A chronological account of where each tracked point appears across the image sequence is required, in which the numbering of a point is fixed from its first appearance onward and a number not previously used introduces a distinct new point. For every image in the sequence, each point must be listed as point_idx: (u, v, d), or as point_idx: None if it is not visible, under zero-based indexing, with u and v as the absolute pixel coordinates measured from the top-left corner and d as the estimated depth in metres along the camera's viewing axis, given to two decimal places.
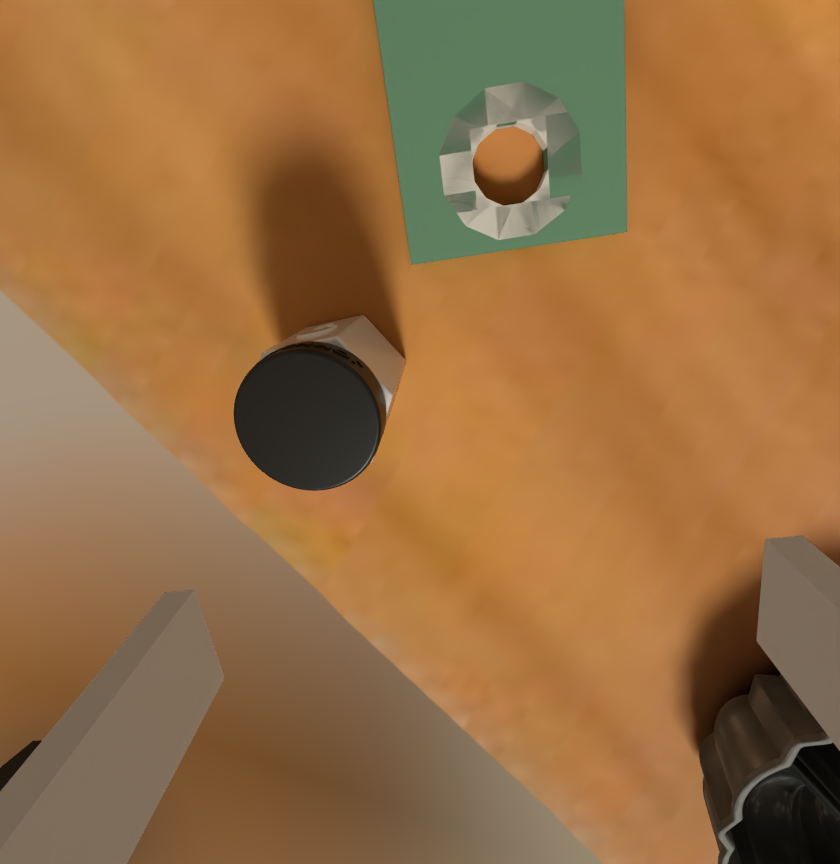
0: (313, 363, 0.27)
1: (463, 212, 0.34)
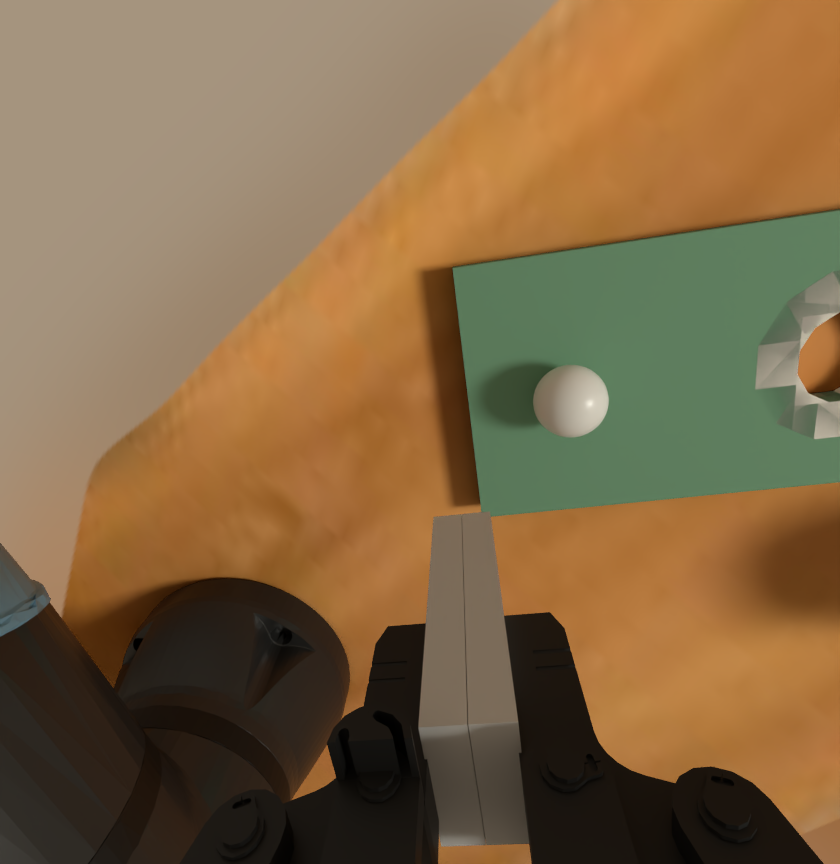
0: None
1: None
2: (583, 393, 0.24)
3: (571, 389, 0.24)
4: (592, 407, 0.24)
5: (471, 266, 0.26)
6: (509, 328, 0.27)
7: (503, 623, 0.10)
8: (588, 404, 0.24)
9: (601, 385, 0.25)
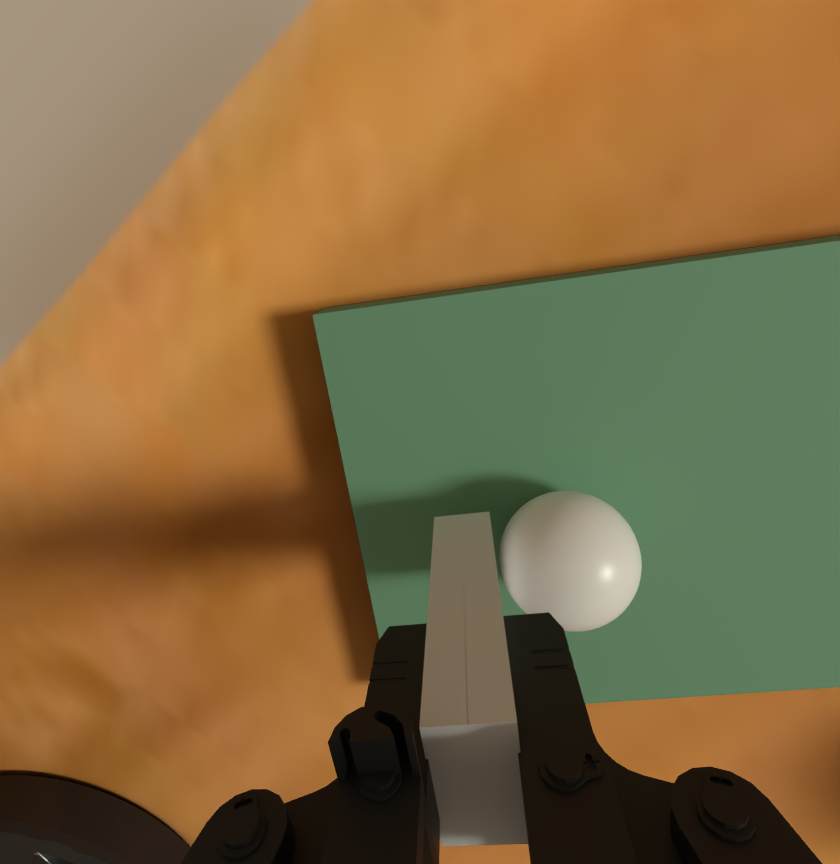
0: None
1: None
2: (621, 555, 0.12)
3: (600, 552, 0.12)
4: (635, 576, 0.13)
5: (347, 311, 0.14)
6: (423, 422, 0.15)
7: (502, 623, 0.10)
8: (631, 573, 0.12)
9: None
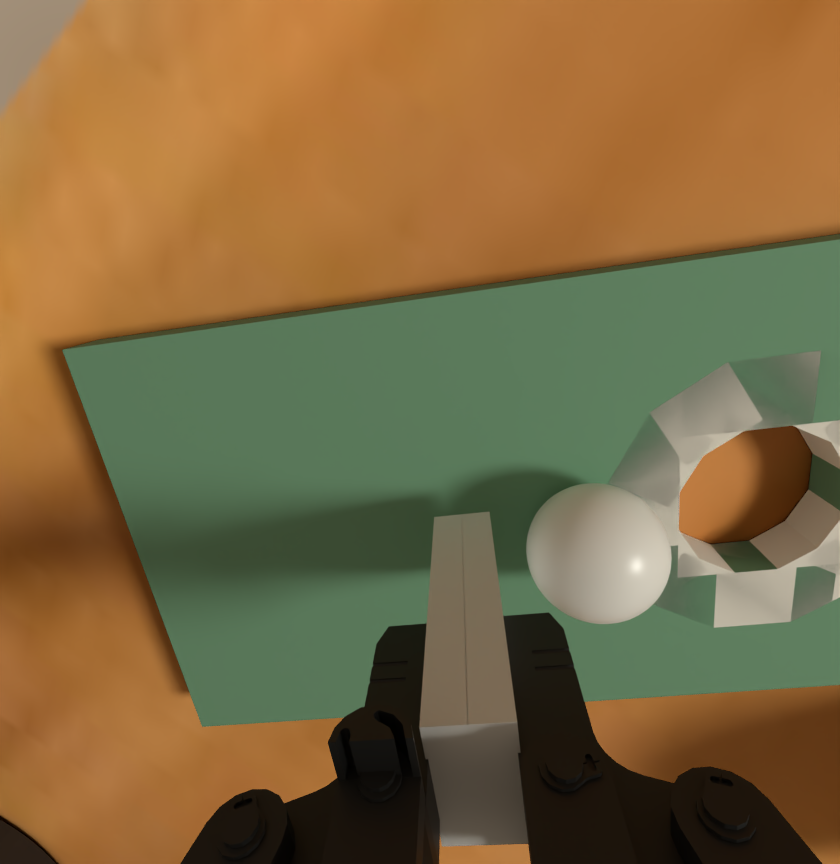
0: None
1: (834, 588, 0.16)
2: (539, 543, 0.13)
3: (537, 524, 0.14)
4: (543, 575, 0.13)
5: (93, 347, 0.14)
6: (182, 449, 0.15)
7: (502, 623, 0.10)
8: (539, 565, 0.13)
9: (581, 558, 0.12)
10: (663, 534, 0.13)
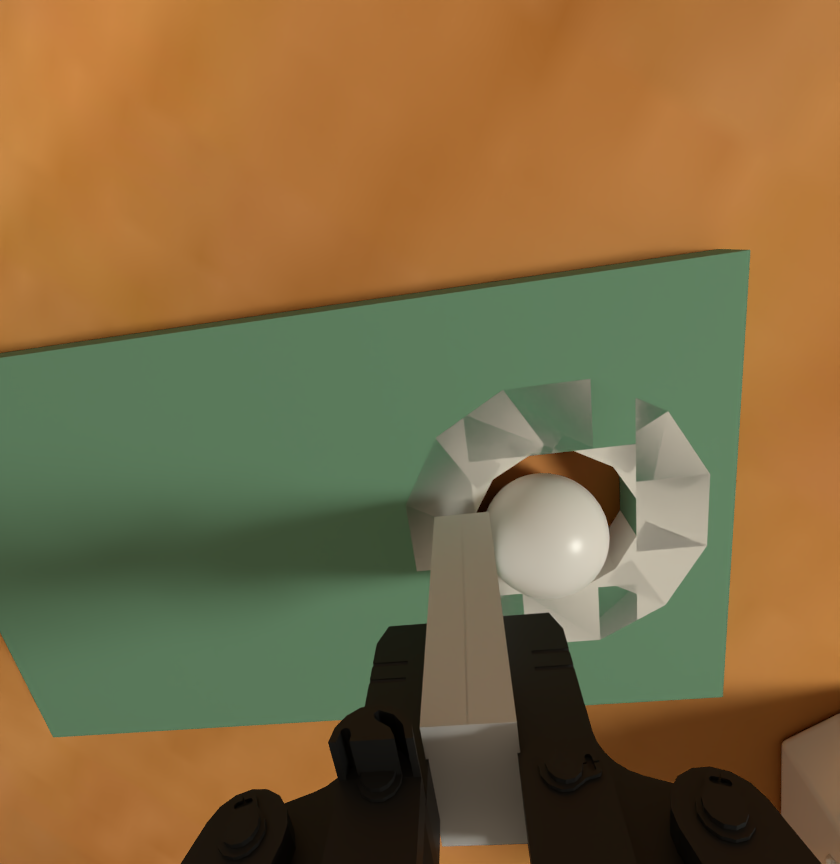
0: None
1: (637, 608, 0.16)
2: None
3: (594, 503, 0.14)
4: None
5: None
6: None
7: (502, 623, 0.10)
8: None
9: None
10: None
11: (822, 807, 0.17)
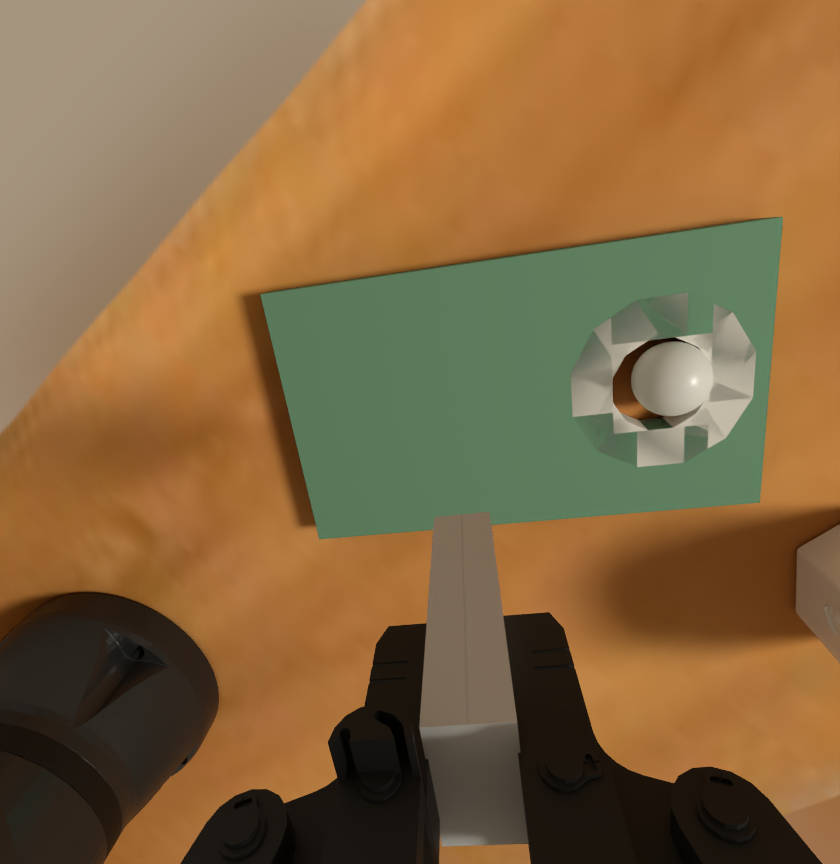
0: None
1: (708, 440, 0.26)
2: None
3: None
4: None
5: (278, 292, 0.26)
6: (322, 354, 0.27)
7: (502, 623, 0.10)
8: None
9: None
10: (633, 367, 0.26)
11: (822, 574, 0.28)
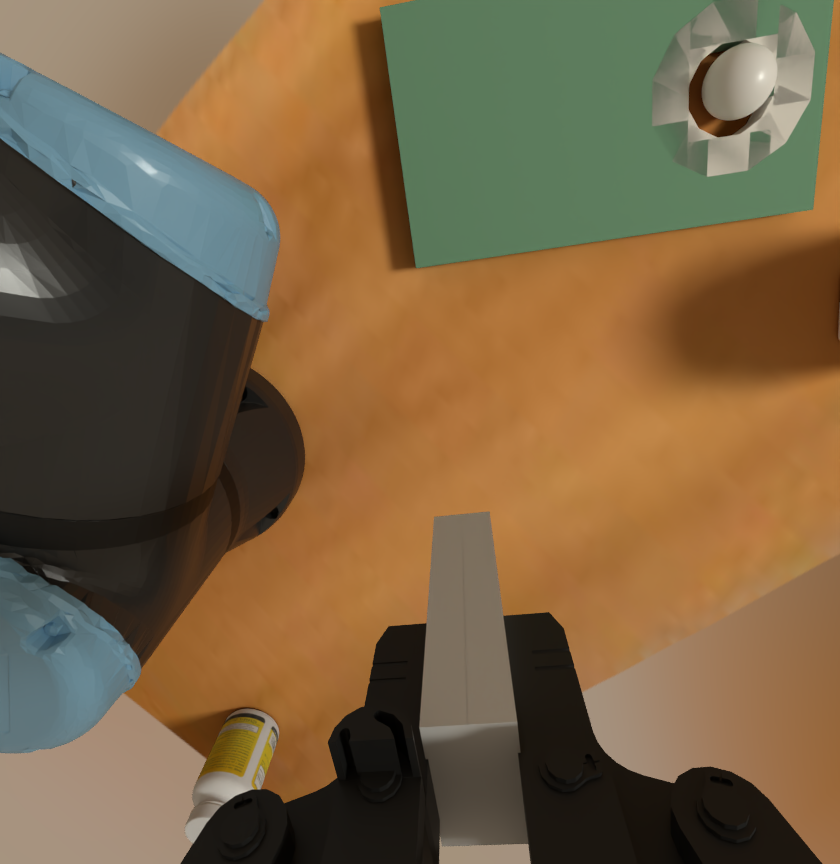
0: None
1: (770, 146, 0.30)
2: None
3: None
4: None
5: (396, 5, 0.29)
6: (432, 68, 0.30)
7: (502, 623, 0.10)
8: None
9: None
10: (705, 76, 0.29)
11: None
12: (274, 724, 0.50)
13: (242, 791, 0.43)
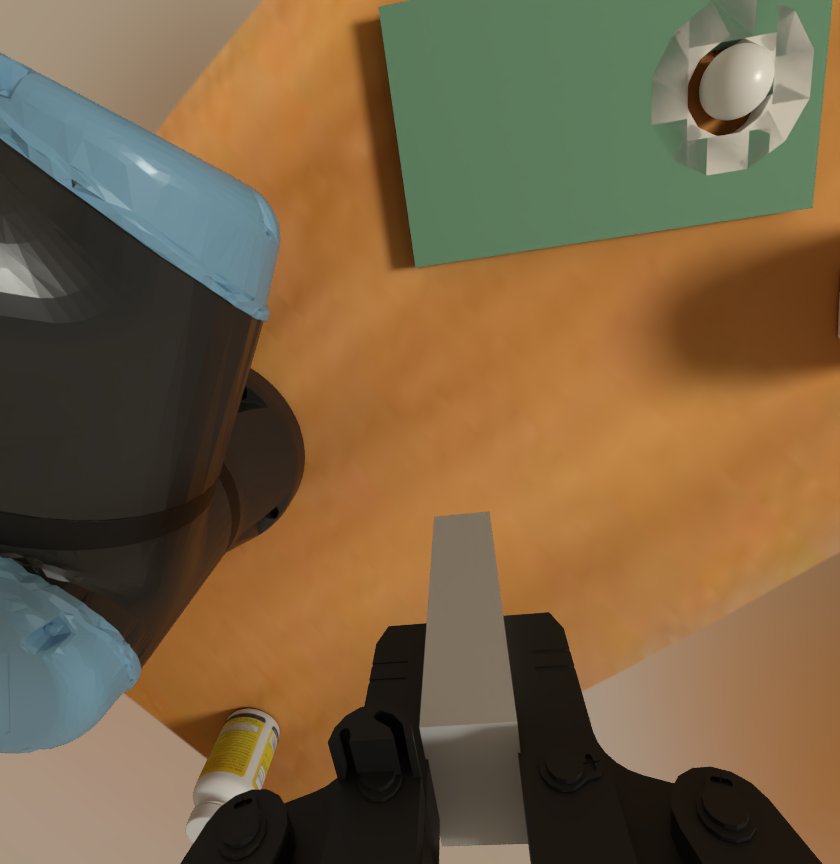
0: None
1: (769, 144, 0.30)
2: None
3: None
4: None
5: (395, 4, 0.29)
6: (431, 67, 0.30)
7: (502, 623, 0.10)
8: None
9: None
10: (702, 76, 0.30)
11: None
12: (275, 724, 0.50)
13: (243, 791, 0.43)
